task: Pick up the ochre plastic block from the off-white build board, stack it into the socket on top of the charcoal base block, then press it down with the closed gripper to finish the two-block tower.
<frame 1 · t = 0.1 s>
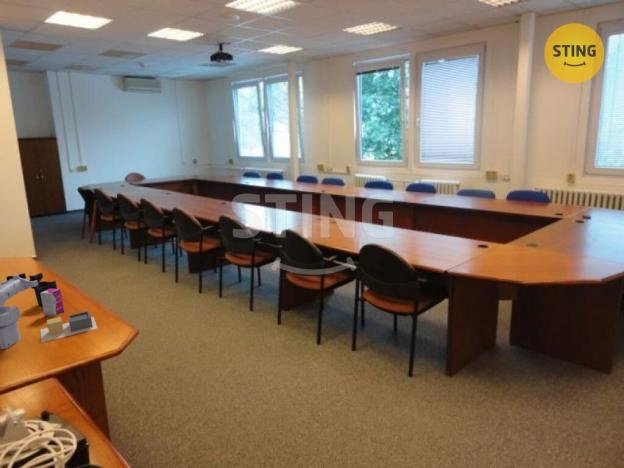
hand: (33, 275, 186), 22 cm above the table, tool horizontal, fingers open, 7 cm apart
charcoal base block: (81, 327, 184), resting on build board
supplement box: (54, 314, 199), on the table
pen holder: (48, 303, 213), on the table
build board: (69, 330, 182), on the table
ochre block: (56, 331, 179), point 1 cm above the table, touching build board
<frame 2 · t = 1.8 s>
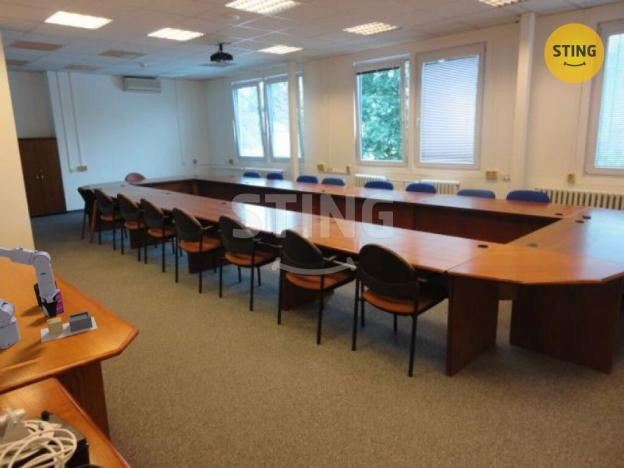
hand: (52, 313, 177), 9 cm above the table, tool pointing down, fingers open, 7 cm apart
nothing on the table moved.
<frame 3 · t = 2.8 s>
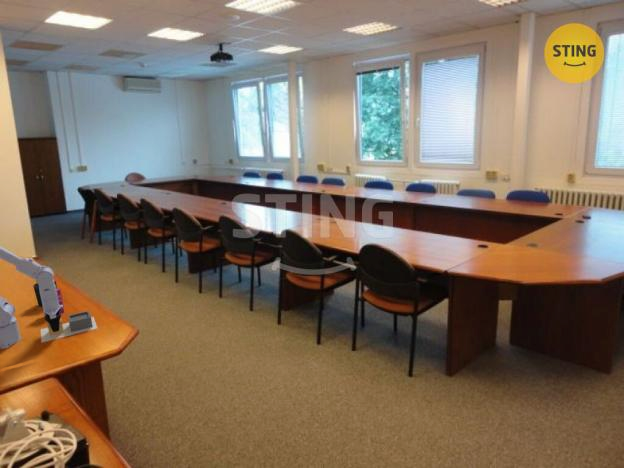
hand: (55, 328, 179), 2 cm above the table, tool pointing down, fingers closed on ochre block, 5 cm apart
ochre block: (56, 331, 179), point 1 cm above the table, touching build board, gripper
everything else where it was.
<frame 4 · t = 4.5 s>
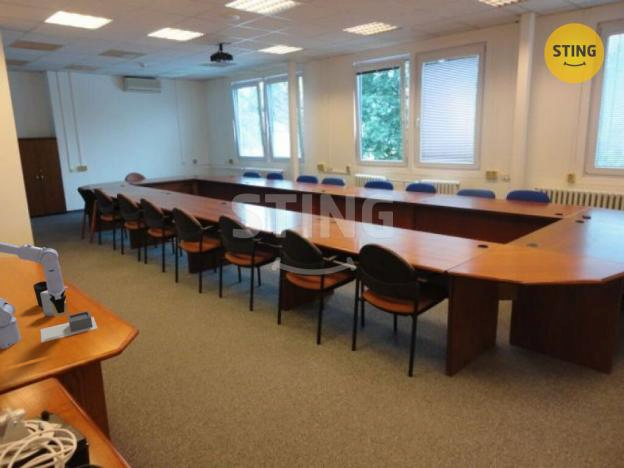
hand: (60, 310, 179), 10 cm above the table, tool pointing down, fingers closed on ochre block, 5 cm apart
ochre block: (61, 313, 179), point 8 cm above the table, touching gripper
everything else where it was.
when the fingers open (6 cm above the table, at t = 6.2 s): ochre block stays where it is, resting on charcoal base block.
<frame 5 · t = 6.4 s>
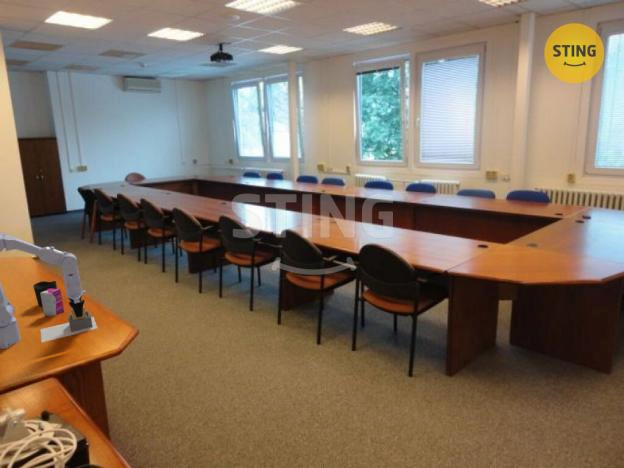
hand: (78, 313, 182), 7 cm above the table, tool pointing down, fingers open, 7 cm apart
ochre block: (79, 318, 183), point 4 cm above the table, touching charcoal base block
everything else where it was.
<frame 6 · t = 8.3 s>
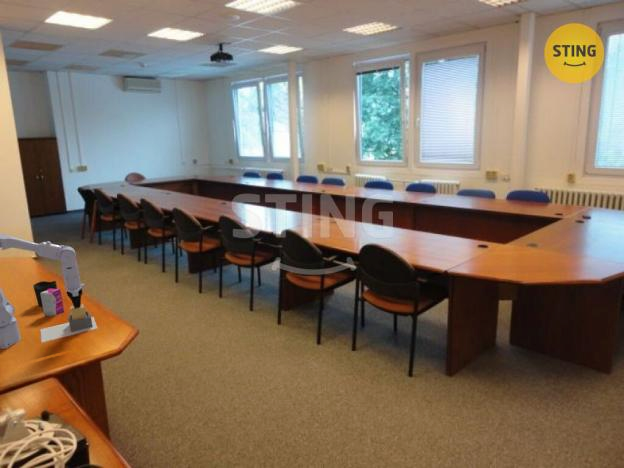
hand: (77, 307, 182), 9 cm above the table, tool pointing down, fingers closed, pressing on ochre block
ochre block: (79, 318, 183), point 4 cm above the table, touching charcoal base block, gripper
everything else where it was.
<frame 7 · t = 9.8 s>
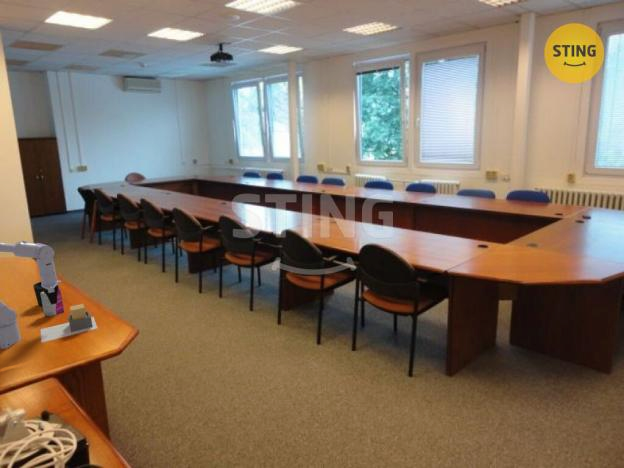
hand: (54, 303, 184), 10 cm above the table, tool pointing down, fingers closed
ochre block: (79, 318, 183), point 4 cm above the table, touching charcoal base block
everything else where it was.
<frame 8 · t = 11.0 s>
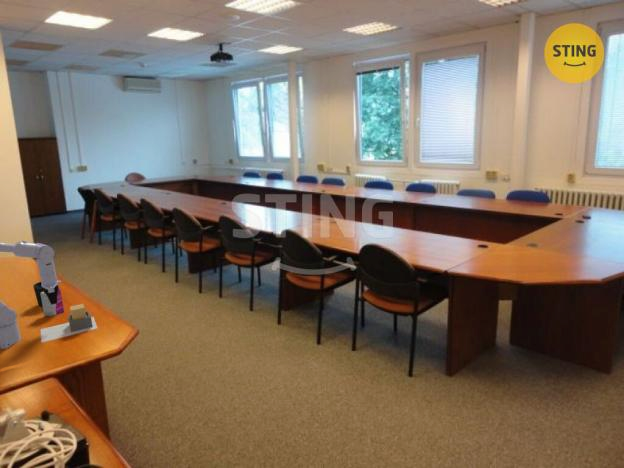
hand: (54, 303, 184), 10 cm above the table, tool pointing down, fingers closed
nothing on the table moved.
at the end: ochre block 0.1 cm off-centre on the charcoal base block, point 4.5 cm above the charcoal base block's base; ochre block tilted 0°; the gripper is holding nothing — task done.
